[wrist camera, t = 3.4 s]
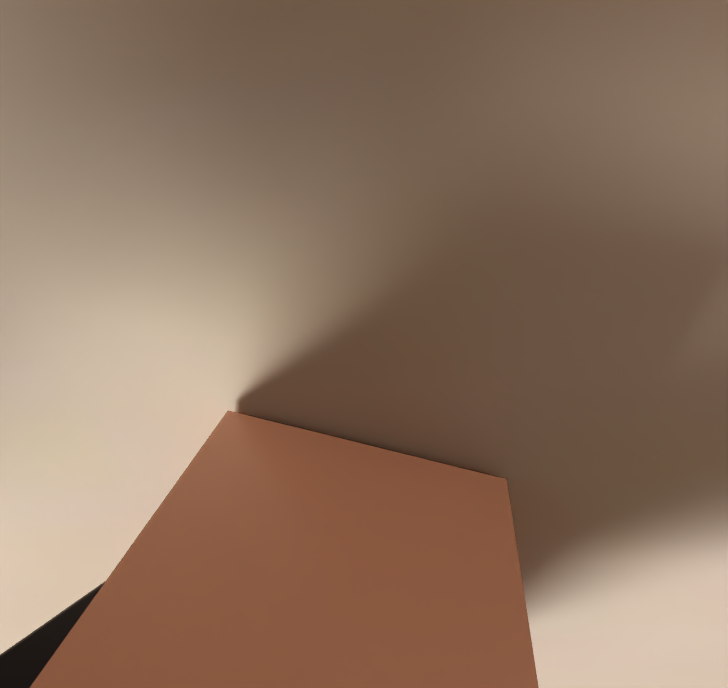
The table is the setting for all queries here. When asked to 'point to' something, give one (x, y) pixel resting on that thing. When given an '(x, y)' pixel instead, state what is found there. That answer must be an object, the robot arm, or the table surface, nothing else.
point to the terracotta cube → (310, 575)
